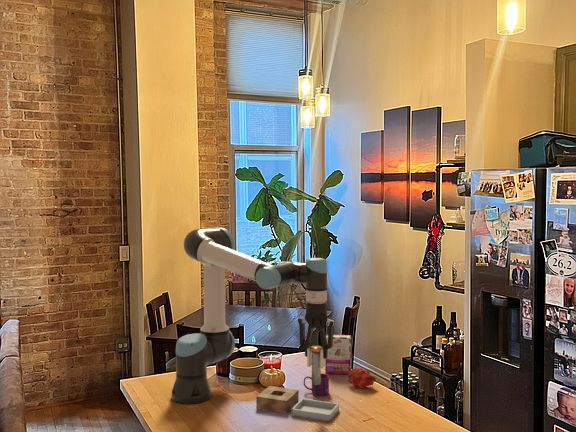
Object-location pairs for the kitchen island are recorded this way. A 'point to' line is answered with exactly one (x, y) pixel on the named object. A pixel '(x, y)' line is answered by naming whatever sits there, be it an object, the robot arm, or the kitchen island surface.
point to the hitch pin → (316, 364)
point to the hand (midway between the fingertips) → (316, 366)
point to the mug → (320, 386)
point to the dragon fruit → (360, 378)
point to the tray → (315, 410)
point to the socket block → (277, 399)
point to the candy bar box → (339, 355)
